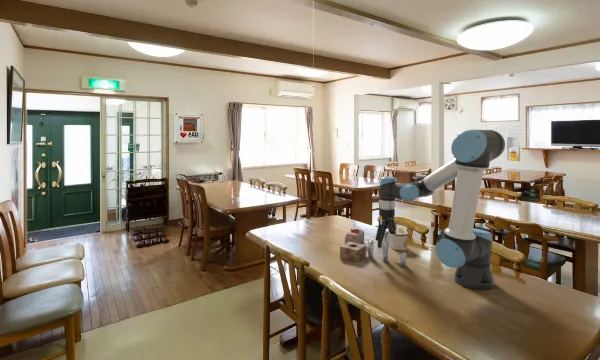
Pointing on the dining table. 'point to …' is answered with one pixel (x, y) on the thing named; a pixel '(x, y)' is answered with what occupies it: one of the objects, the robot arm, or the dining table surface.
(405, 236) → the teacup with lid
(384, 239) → the pin long
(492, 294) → the dining table surface
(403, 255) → the pin short
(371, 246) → the pin medium
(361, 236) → the food item
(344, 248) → the hole block
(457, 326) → the dining table surface
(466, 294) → the dining table surface
